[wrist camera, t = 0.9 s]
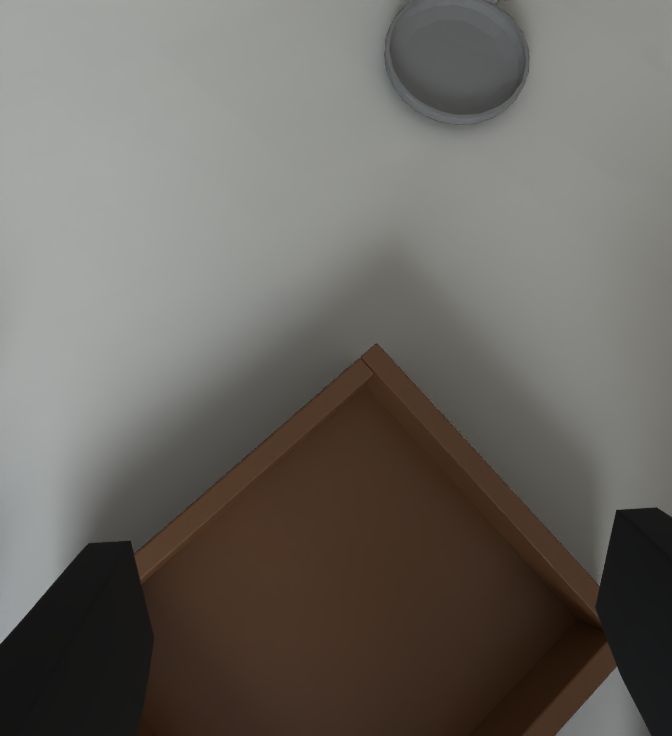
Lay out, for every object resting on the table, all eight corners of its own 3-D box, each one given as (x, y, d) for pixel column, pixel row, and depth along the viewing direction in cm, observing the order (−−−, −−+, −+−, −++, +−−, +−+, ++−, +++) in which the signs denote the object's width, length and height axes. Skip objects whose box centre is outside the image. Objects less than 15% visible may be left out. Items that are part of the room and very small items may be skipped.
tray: (298, 942, 22) (300, 1021, 18) (55, 633, 23) (15, 656, 20) (597, 617, 25) (645, 635, 21) (365, 362, 26) (376, 342, 23)
